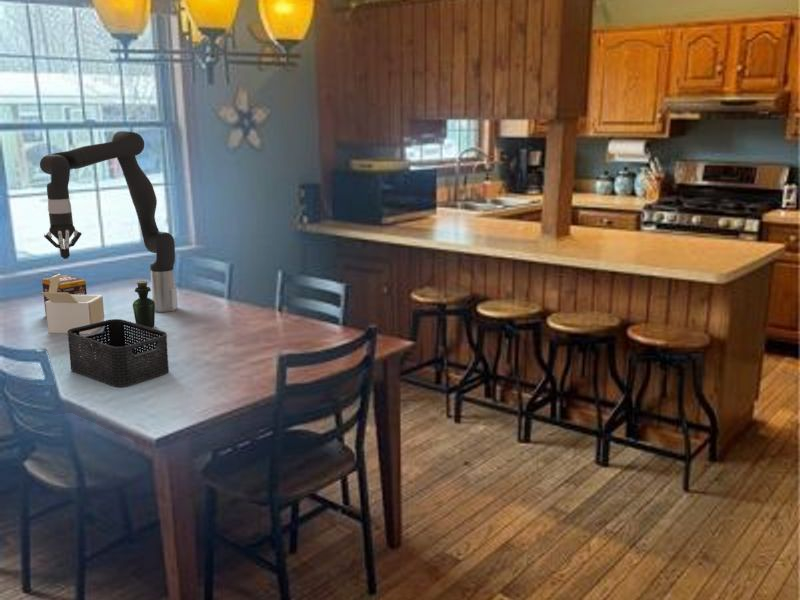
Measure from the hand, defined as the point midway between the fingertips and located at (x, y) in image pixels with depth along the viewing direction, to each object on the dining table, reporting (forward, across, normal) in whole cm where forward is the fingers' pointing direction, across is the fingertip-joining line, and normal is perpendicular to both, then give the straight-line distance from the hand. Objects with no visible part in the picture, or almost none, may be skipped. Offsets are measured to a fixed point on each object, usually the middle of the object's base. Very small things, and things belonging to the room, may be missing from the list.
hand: (65, 258), depth 262 cm
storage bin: (+28, +4, -54) cm, 61 cm away
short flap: (+12, -4, +8) cm, 15 cm away
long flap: (+13, -4, -4) cm, 14 cm away
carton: (+28, +2, +4) cm, 29 cm away
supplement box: (+29, +2, +25) cm, 38 cm away
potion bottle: (+29, +24, -7) cm, 39 cm away
